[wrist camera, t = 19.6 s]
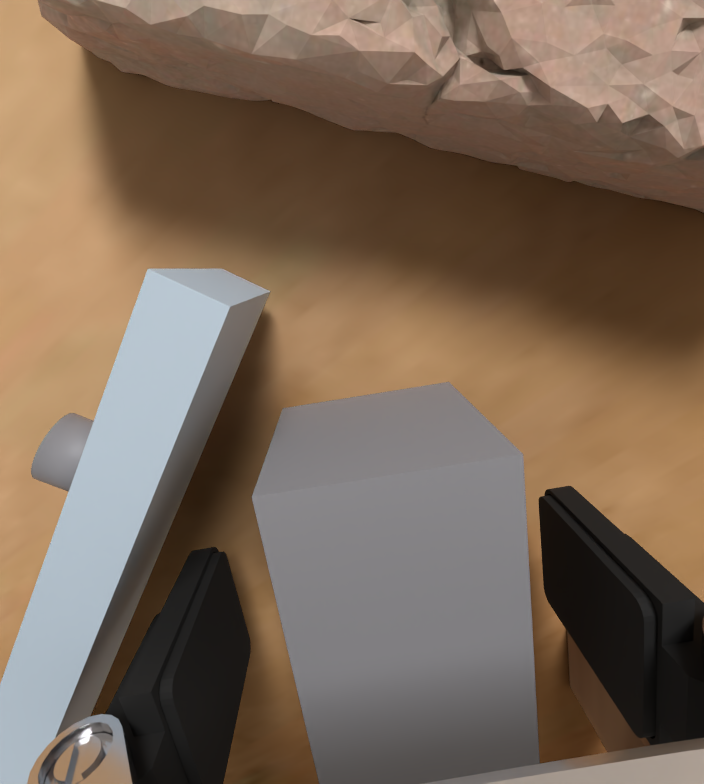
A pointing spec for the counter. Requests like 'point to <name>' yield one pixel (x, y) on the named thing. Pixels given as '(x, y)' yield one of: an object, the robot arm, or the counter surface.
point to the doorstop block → (402, 585)
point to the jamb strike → (599, 704)
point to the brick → (445, 74)
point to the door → (120, 497)
